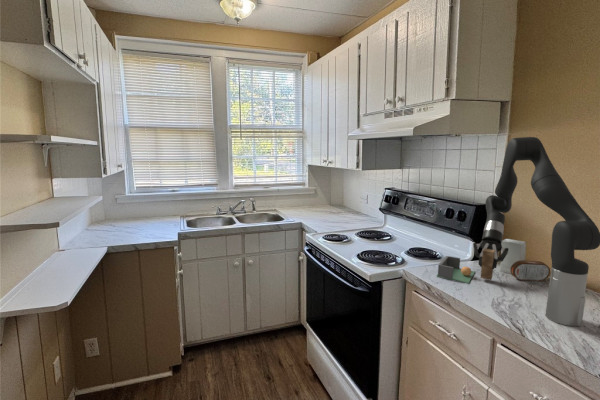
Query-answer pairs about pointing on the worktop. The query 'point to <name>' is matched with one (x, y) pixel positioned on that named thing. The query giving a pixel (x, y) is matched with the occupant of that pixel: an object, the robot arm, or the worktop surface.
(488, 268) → the brown wooden block
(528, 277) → the tin
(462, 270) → the ball
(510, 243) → the skincare box
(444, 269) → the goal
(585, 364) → the worktop surface
